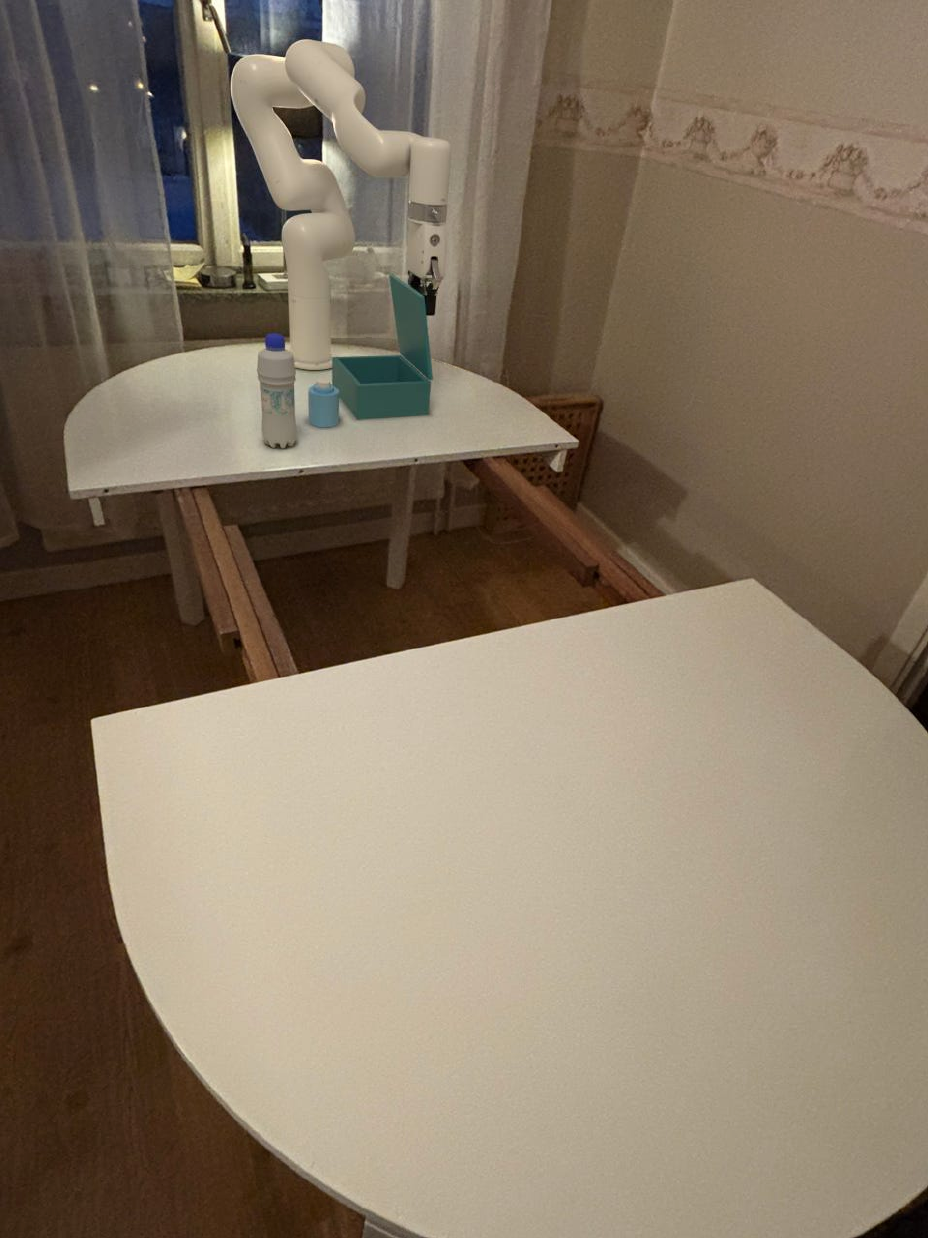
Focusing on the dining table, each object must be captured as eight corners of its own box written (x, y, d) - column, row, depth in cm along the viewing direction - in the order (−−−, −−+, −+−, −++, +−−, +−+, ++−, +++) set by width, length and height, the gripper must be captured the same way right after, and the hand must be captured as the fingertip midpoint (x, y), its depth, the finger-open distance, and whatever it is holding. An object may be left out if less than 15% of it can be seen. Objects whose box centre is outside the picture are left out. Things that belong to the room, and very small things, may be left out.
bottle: (257, 437, 140) (250, 328, 128) (292, 435, 142) (289, 327, 130) (266, 452, 135) (259, 340, 123) (302, 449, 138) (299, 339, 126)
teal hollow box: (357, 419, 152) (357, 385, 148) (332, 388, 165) (332, 356, 161) (428, 414, 158) (431, 382, 154) (399, 385, 171) (401, 354, 167)
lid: (420, 297, 143) (444, 291, 144) (389, 274, 155) (411, 269, 157) (429, 380, 154) (452, 374, 155) (399, 353, 166) (420, 347, 168)
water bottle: (305, 416, 150) (304, 376, 145) (334, 415, 152) (334, 375, 148) (313, 428, 146) (312, 387, 141) (342, 426, 148) (343, 385, 143)
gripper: (463, 222, 138) (454, 322, 149) (427, 206, 151) (421, 299, 161) (426, 220, 135) (419, 322, 146) (393, 204, 148) (389, 299, 158)
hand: (420, 309), depth 153 cm, fingers closed on lid, 6 cm apart
